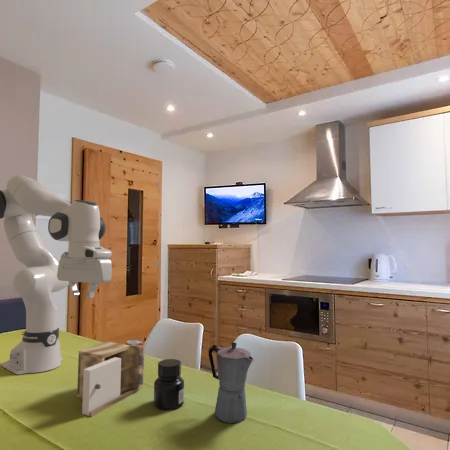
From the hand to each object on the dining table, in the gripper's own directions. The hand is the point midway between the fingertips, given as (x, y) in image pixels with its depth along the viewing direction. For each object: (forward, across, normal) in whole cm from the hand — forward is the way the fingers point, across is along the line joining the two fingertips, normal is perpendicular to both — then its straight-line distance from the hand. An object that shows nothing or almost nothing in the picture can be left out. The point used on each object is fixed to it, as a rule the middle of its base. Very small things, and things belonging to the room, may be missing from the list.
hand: (82, 296), depth 103 cm
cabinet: (+31, +5, +5) cm, 32 cm away
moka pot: (+31, +44, +13) cm, 56 cm away
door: (+31, +9, +1) cm, 32 cm away
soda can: (+31, 0, +24) cm, 40 cm away
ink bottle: (+31, +25, +11) cm, 42 cm away
